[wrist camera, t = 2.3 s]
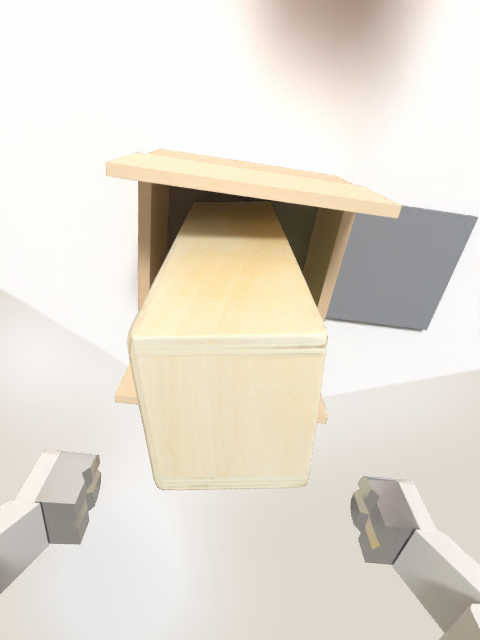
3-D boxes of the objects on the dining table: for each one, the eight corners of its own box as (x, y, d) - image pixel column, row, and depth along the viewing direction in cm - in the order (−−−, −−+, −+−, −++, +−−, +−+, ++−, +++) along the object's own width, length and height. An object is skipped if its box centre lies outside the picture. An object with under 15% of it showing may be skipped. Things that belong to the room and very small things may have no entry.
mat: (474, 216, 30) (478, 217, 30) (424, 327, 35) (426, 329, 35) (348, 197, 29) (350, 198, 29) (316, 313, 35) (317, 316, 34)
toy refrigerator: (277, 288, 33) (324, 492, 15) (199, 289, 33) (150, 493, 15) (281, 200, 29) (352, 328, 11) (193, 201, 29) (117, 330, 11)
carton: (336, 173, 28) (402, 206, 17) (297, 327, 35) (325, 423, 24) (160, 146, 27) (105, 162, 16) (156, 310, 34) (115, 402, 23)
